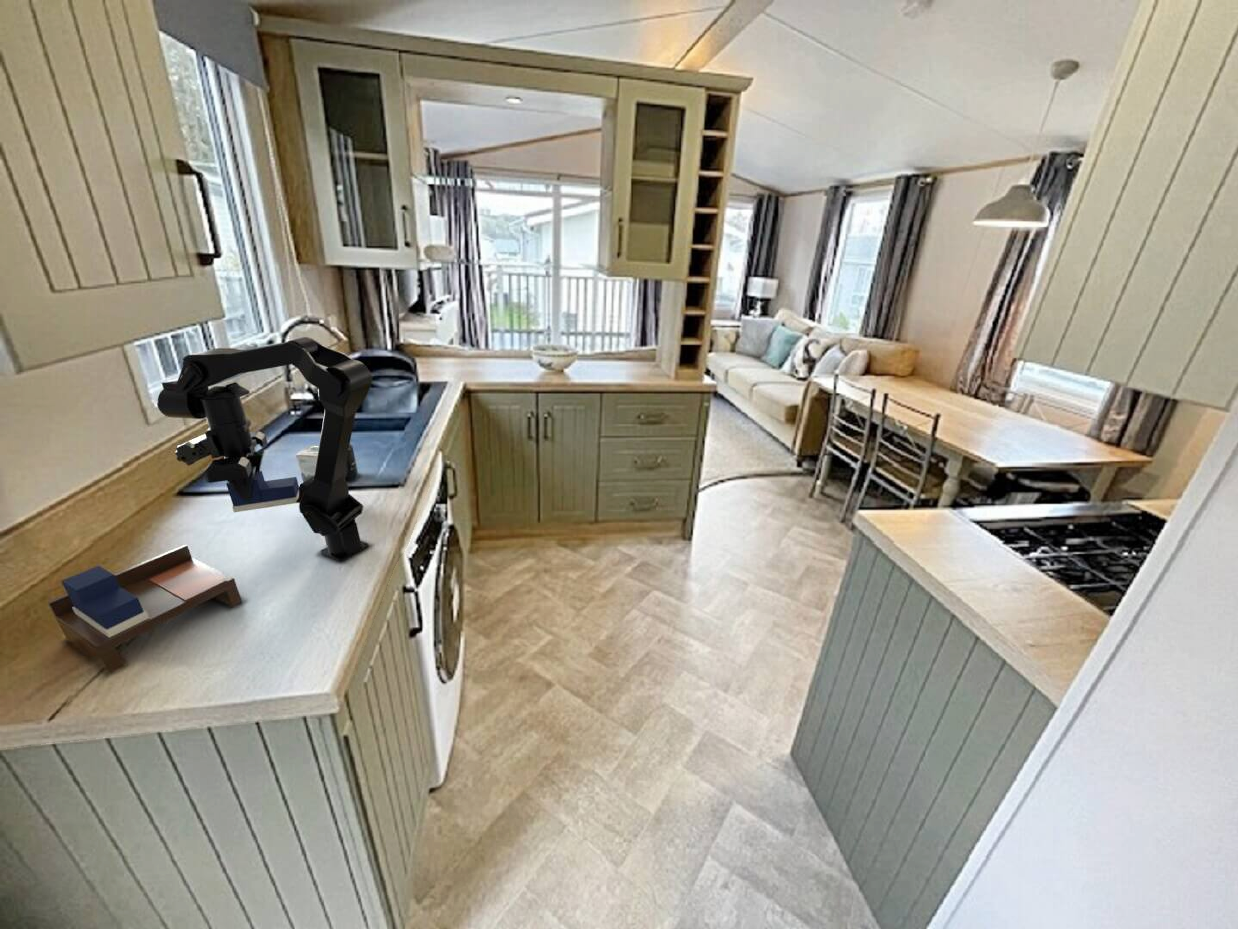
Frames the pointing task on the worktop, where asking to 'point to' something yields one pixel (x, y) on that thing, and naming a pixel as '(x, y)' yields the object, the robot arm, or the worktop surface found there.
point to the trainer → (266, 493)
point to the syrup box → (307, 461)
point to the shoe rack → (148, 601)
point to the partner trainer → (103, 601)
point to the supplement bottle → (350, 466)
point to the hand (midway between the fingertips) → (250, 495)
